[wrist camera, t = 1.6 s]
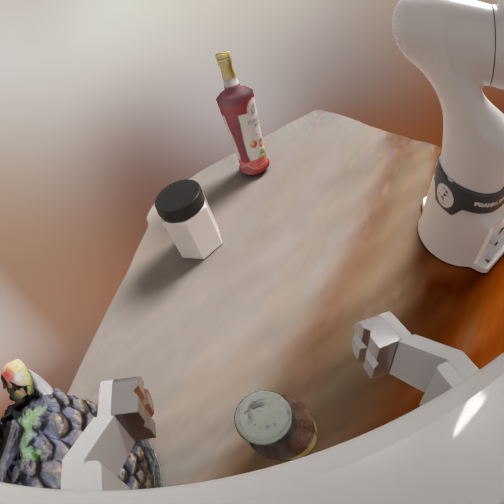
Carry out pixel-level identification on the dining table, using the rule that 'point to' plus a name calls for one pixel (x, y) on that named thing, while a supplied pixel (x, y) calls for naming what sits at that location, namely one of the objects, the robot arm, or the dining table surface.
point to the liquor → (241, 119)
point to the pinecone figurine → (55, 434)
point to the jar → (188, 219)
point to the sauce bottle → (276, 425)
